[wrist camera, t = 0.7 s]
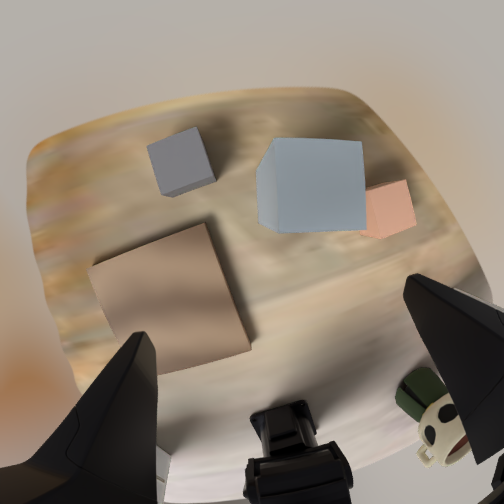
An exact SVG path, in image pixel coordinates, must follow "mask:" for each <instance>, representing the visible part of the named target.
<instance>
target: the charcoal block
mask: <svg viewBox="0 0 504 504" xmlns="http://www.w3.org/2000/svg"><path fill="white" fill-rule="evenodd" d="M147 150H148V153H149V157H150V160H151V163H152V167H153V170H154V173H155V177H156V180H157V183H158V186H159V189H160V192H161V195H163V196H168V197H176V196H178V195H181V194H183V193H186V192H189V191H191V190H194V189H197V188H200V187H202V186H205V185H208V184H211V183H213V182H216V178H215V175H214V173H213V170H212V167H211V164H210V161H209V158H208V155H207V152H206V149H205V146H204V143H203V140H202V137H201V135H200V133H199V131H198V128H197V126H196V127H193V128H191V129H188V130H185V131H182V132H180V133H177V134H175V135H172V136H170V137H167V138H165V139H162V140H160V141H157V142H155V143H152V144H150V145H148V146H147Z"/></svg>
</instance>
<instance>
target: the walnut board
mask: <svg viewBox="0 0 504 504" xmlns="http://www.w3.org/2000/svg"><path fill="white" fill-rule="evenodd" d="M86 270H87V273H88V276H89V278H90V281H91V283H92V286H93V288H94V291H95V293H96V296H97V298H98V300H99V303H100V305H101V307H102V309H103V312H104V314H105V316H106V318H107V320H108V323H109V325H110V327H111V329H112V331H113V333H114V335H115V337H116V339H117V341H118V343H119V345H120V347H121V346H122V345H123V344H124V343H125V342H126V340H127V339H128V338H129V337H130V336H131V334H132V333H133V332H138V331H145V332H146V333H147V334H148V336H149V338H150V340H151V341H152V343H153V345H154V347H155V350H156V363H157V375H161V374H166V373H170V372H174V371H179V370H183V369H187V368H191V367H195V366H199V365H202V364H206V363H210V362H213V361H217V360H221V359H224V358H227V357H231V356H234V355H238V354H241V353H244V352H247V351H251V350H252V349H251V343H250V341H249V338H248V336H247V333H246V331H245V328H244V325H243V323H242V320H241V318H240V315H239V313H238V310H237V307H236V305H235V302H234V299H233V297H232V294H231V291H230V289H229V286H228V283H227V281H226V278H225V275H224V273H223V270H222V267H221V264H220V262H219V259H218V256H217V253H216V250H215V248H214V245H213V242H212V239H211V236H210V234H209V231H208V228H207V225H206V222H205V223H202V224H200V225H197V226H194V227H191V228H189V229H186V230H183V231H180V232H178V233H175V234H172V235H170V236H167V237H164V238H162V239H159V240H157V241H154V242H151V243H149V244H146V245H144V246H141V247H139V248H136V249H133V250H131V251H128V252H126V253H123V254H121V255H118V256H116V257H114V258H111V259H109V260H106V261H104V262H101V263H99V264H97V265H94V266H92V267H90V268H87V269H86Z"/></svg>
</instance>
